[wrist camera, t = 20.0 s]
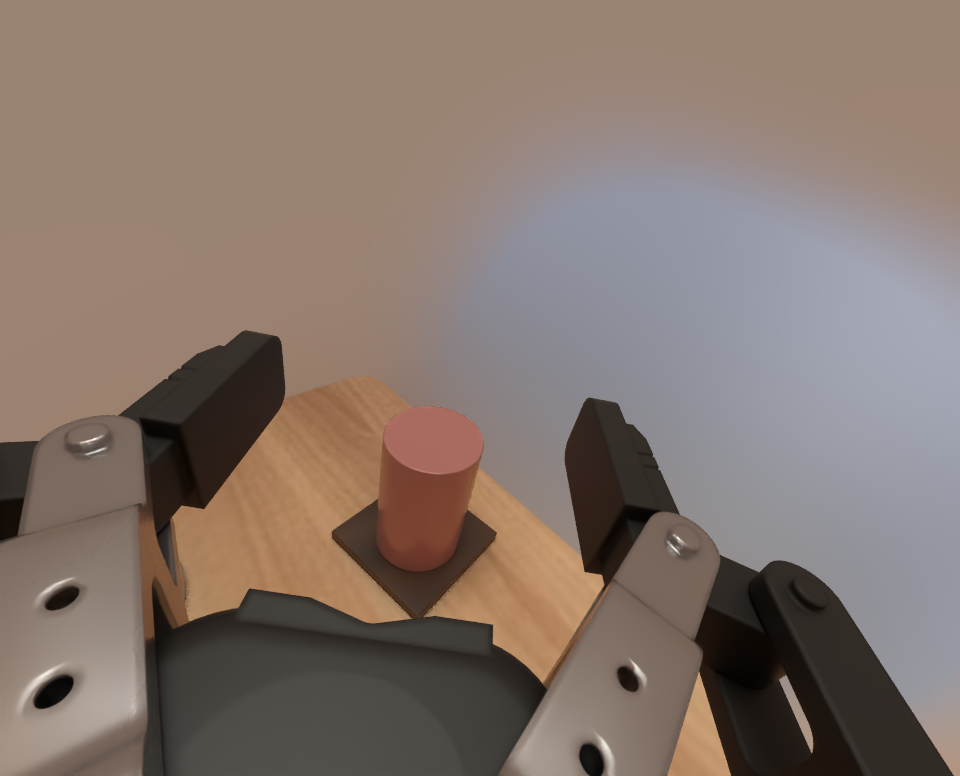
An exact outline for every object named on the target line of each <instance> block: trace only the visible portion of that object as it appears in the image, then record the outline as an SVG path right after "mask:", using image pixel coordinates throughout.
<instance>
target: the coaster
mask: <svg viewBox="0 0 960 776" xmlns="http://www.w3.org/2000/svg"><path fill="white" fill-rule="evenodd" d="M377 507H378V499H377V500H376V501H374V502H373V503H372V504H370V505H369V506H367V507H366V508H364V509H363V510H362V511H360V512H359V513H357V514H356V515H354V516H353V517H352V518H350V519H349V520H347V521H346V522H344V523H343V524H341V525H340V526H339V527H337V528H336V529H334V530H333V531H332V538H333V539H334V540H335V541H336V542H337V543H338V544H339V545H340V546H341V547H342V548H343V549H344V550H345V551H346V552H347V553H348V554H349V555H350V556H351V557H352V558H353V559H354V560H355V561H356V562H357V563H358V564H359V565H360V566H361V567H362V568H363V569H364V570H365V571H366V572H367V573H368V574H369V575H370V576H371V577H372V578H373V579H374V580H375V581H376V582H377V583H378V584H379V585H380V586H381V587H382V588H383V589H384V590H385V591H386V592H387V593H388V594H389V595H390V596H391V597H392V598H393V599H394V600H395V601H396V602H397V603H398V604H399V605H400V606H401V607H402V608H403V609H404V610H405V611H406V612H407V613H408V614H409V615H410V616H411V617H412V618H413V619H416V618H421V617H422V616H423V615H424V614H425V613H426V612H427V611H428V610H429V609H430V608H431V607H432V606H433V604H434V603H435V602H436V601H437V600H438V599H439V598H440V597H441V596H442V595H443V594H444V593H445V592H446V590H447V589H448V588H449V587H450V586H451V585H452V584H453V583H454V582H455V581H456V580H457V579H458V578H459V577H460V575H461V574H462V573H463V572H464V571H465V570H466V569H467V568H468V567H469V566H470V565H471V564H472V563H473V562H474V560H475V559H476V558H477V557H478V556H479V555H480V554H481V553H482V552H483V551H484V550H485V549H486V548H487V547H488V545H489V544H490V543H491V542H492V541H493V540H494V539H495V537H496V534H497V532H495V531H494V530H493V529H492V528H490V527H489V526H488V525H486V524H485V523H484V522H482V521H481V520H480V519H479V518H477V517H476V516H475V515H473V514H472V513H471V512H470V511H468V510H467V513H466V516H465V520H464V524H463V528H462V531H461V535H460V539H459V543H458V546H457V549H456V551H455V552H454V554H453V556H452V557H451V558H450V559H449V560H448V561H447V562H446V563H444V564H443V565H441V566H439V567H437V568H435V569H432V570H429V571H423V572H412V571H406V570H403V569H400V568H398V567H396V566H394V565H393V564H391V563H390V562H388V561H387V560H386V559H385V558H384V557H383V555H382V554H381V552H380V551H379V549H378V547H377V543H376V537H375V534H376V520H377Z"/></svg>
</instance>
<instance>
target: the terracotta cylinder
mask: <svg viewBox="0 0 960 776" xmlns="http://www.w3.org/2000/svg"><path fill="white" fill-rule="evenodd" d="M483 448H484V442H483V437H482V435H481V432H480V431H479V429H478V428H477V426H476V425H475V424H474V423H473V422H472V421H471V420H469V419H468V418H466V417H465V416H463V415H462V414H459V413H458V412H455V411H452V410H450V409H446V408H442V407H435V406H421V407H414V408H410V409H407V410H404V411H402V412H400V413H398V414H396V415H395V416H394V417H393V418H392V419H391V420H390V421H389V422H388V423H387V425H386V427H385V429H384V433H383V444H382V457H381V469H380V482H379V495H378V507H377V520H376V534H375V537H376V543H377V547H378V549H379V551H380V552H381V554H382V555H383V557H384V558H385V559H386V560H387V561H388V562H390V563H391V564H393V565H394V566H396V567H398V568H400V569H403V570H406V571H412V572H423V571H429V570H432V569H435V568H437V567H439V566H441V565H443V564H444V563H446V562H447V561H448V560H449V559H450V558H451V557H452V556H453V554H454V552H455V551H456V549H457V546H458V543H459V539H460V535H461V531H462V528H463V524H464V520H465V516H466V513H467V509H468V505H469V501H470V498H471V494H472V490H473V486H474V483H475V479H476V475H477V471H478V468H479V463H480V460H481V456H482V453H483Z"/></svg>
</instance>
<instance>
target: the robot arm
mask: <svg viewBox="0 0 960 776" xmlns="http://www.w3.org/2000/svg"><path fill="white" fill-rule="evenodd" d="M284 395H285V379H284V367H283V355H282V345H281V341H280V339H279V338H278V337H277V336H273V335H268V334H262V333H257V332H251V331H242V332H241V333H240V334H239V335H237V336H236V337H235V338H234V339H233V340H231V341H230V342H229V343H228V344H226V345H225V346H216V347H214V348H211V349H209V350H206V351H203V352H201V353H198V354H196V355H195V356H194V357H193V358H192V359H190V360H189V361H187V362H186V363H185V364H184V365H182V368H181V369H177V370H176V371H175V372H173V373H172V374H171V375H170V376H169V378H168V379H164V380H163V381H162V382H161V383H159V384H158V385H157V386H155V387H154V388H153V389H152V390H150V391H149V392H148V393H147V394H145V395H144V396H143V397H141V398H140V399H139V400H137V401H136V402H135V403H134V404H132V405H131V406H130V407H129V408H127V409H126V410H125V411H123V412H122V413H121V414H120V415H118V416H115V415H102V416H93V417H88V418H84V419H79V420H76V421H73V422H70V423H67V424H65V425H63V426H60V427H58V428H56V429H55V430H53V431H52V432H50V433H48V434H47V435H45V436H44V437H43V438H42V439H41V440H40V441H28V442H7V443H6V442H5V443H0V776H667V774H668V771H669V768H670V764H671V761H672V758H673V755H674V751H675V748H676V745H677V741H678V738H679V735H680V731H681V728H682V725H683V722H684V718H685V715H686V712H687V708H688V705H689V702H690V699H691V695H692V692H693V689H694V685H695V682H696V679H697V676H698V672H700V675H701V678H702V682H703V685H704V688H705V692H706V695H707V698H708V701H709V705H710V708H711V711H712V714H713V718H714V721H715V724H716V727H717V731H718V734H719V737H720V740H721V744H722V747H723V750H724V753H725V757H726V760H727V763H728V767H729V770H730V773H731V776H953V774H952V772H951V771H950V769H949V768H948V766H947V765H946V763H945V762H944V760H943V758H942V757H941V756H940V754H939V752H938V751H937V749H936V748H935V746H934V744H933V743H932V741H931V740H930V738H929V737H928V735H927V734H926V733H925V731H924V729H923V728H922V726H921V725H920V723H919V721H918V720H917V718H916V717H915V715H914V714H913V712H912V711H911V709H910V707H909V706H908V704H907V703H906V701H905V700H904V698H903V697H902V695H901V694H900V692H899V691H898V689H897V687H896V686H895V684H894V683H893V681H892V680H891V678H890V677H889V675H888V673H887V672H886V670H885V669H884V667H883V666H882V664H881V663H880V661H879V660H878V658H877V657H876V655H875V653H874V652H873V650H872V649H871V647H870V646H869V644H868V643H867V641H866V640H865V638H864V636H863V635H862V633H861V632H860V630H859V629H858V627H857V626H856V624H855V622H854V621H853V619H852V618H851V616H850V615H849V613H848V612H847V610H846V609H845V607H844V606H843V604H842V602H841V601H840V600H839V598H838V597H837V596H836V595H835V593H833V591H832V590H831V589H830V588H829V587H828V586H827V585H826V584H825V583H823V582H822V581H821V580H820V579H819V578H817V577H816V576H815V575H813V574H812V573H810V572H809V571H807V570H806V569H804V568H802V567H800V566H798V565H795V564H793V563H789V562H786V561H773V562H770V563H769V564H768V565H767V566H766V567H765V568H763V569H762V570H761V571H760V572H757V571H755V570H752V569H750V568H748V567H746V566H743V565H741V564H739V563H737V562H734V561H732V560H730V559H728V558H725V557H723V556H721V555H719V551H718V549H717V547H716V545H715V543H714V542H713V540H712V539H711V538H710V536H709V535H708V534H707V533H706V532H705V531H704V530H703V529H702V528H701V527H700V526H698V525H697V524H696V523H694V522H693V521H691V520H689V519H688V518H686V517H684V516H681V515H680V514H679V512H678V509H677V507H676V505H675V503H674V500H673V498H672V496H671V494H670V491H669V489H668V487H667V485H666V483H665V480H664V478H663V476H662V474H661V471H660V470H658V465H657V463H656V460H655V458H654V457H653V453H652V451H651V449H650V447H649V444H648V442H647V440H646V438H644V436H643V435H642V434H641V433H640V432H639V431H638V430H637V429H636V428H635V427H634V425H631V424H626V422H625V420H624V417H623V415H622V412H621V410H620V407H619V405H618V404H617V403H615V402H609V401H605V400H599V399H594V398H588V399H586V401H585V402H584V404H583V406H582V408H581V411H580V413H579V416H578V418H577V420H576V422H575V425H574V427H573V430H572V432H571V434H570V437H569V439H568V441H567V445H566V450H565V466H566V472H567V477H568V483H569V488H570V493H571V499H572V505H573V510H574V516H575V521H576V526H577V532H578V538H579V543H580V549H581V554H582V560H583V565H584V571H585V572H588V573H594V574H600V575H602V576H603V580H604V587H603V588H602V590H601V591H600V593H599V594H598V596H597V598H596V599H595V601H594V602H593V604H592V606H591V607H590V609H589V611H588V612H587V614H586V615H585V617H584V619H583V620H582V622H581V624H580V625H579V627H578V628H577V630H576V632H575V633H574V635H573V637H572V638H571V640H570V641H569V643H568V645H567V646H566V648H565V650H564V651H563V653H562V654H561V656H560V657H559V659H558V661H557V662H556V664H555V665H554V667H553V668H552V670H551V671H550V673H549V674H548V676H547V678H546V679H545V681H544V682H543V684H542V682H541V681H540V680H539V679H538V677H537V676H536V675H535V674H534V673H533V672H532V671H531V670H530V669H529V668H528V667H527V666H526V665H524V664H523V663H522V662H521V661H519V660H518V659H517V658H516V657H514V656H513V655H511V654H510V653H508V652H507V651H505V650H503V649H502V648H500V647H498V646H496V645H494V644H493V625H491V624H484V623H478V622H471V621H464V620H458V619H451V618H444V617H437V616H432V617H424V618H416V619H408V620H400V621H392V622H384V623H374V624H371V623H366V622H363V621H361V620H359V619H356V618H354V617H352V616H350V615H348V614H346V613H343V612H341V611H339V610H337V609H335V608H332V607H330V606H328V605H326V604H324V603H321V602H319V601H317V600H315V599H313V598H310V597H303V596H296V595H290V594H283V593H276V592H269V591H263V590H256V589H249V590H248V591H247V593H246V595H245V597H244V599H243V601H242V603H241V605H240V606H239V608H236V609H230V610H225V611H221V612H216V613H213V614H210V615H207V616H204V617H201V618H198V619H195V620H192V621H190V622H189V620H188V616H187V613H186V609H185V604H184V599H183V592H182V584H181V576H180V568H179V559H178V551H177V543H176V534H175V526H174V522H173V519H172V516H173V515H174V514H175V513H176V511H177V510H178V509H179V508H180V507H181V505H182V506H189V507H195V508H201V509H204V508H205V507H206V506H207V505H208V503H209V502H210V501H211V499H212V498H213V497H214V495H215V494H216V493H217V491H218V490H219V489H220V487H221V486H222V485H223V483H224V482H225V481H226V479H227V478H228V477H229V476H230V474H231V473H232V472H233V470H234V469H235V468H236V466H237V465H238V464H239V462H240V461H241V460H242V458H243V457H244V456H245V454H246V453H247V452H248V450H249V449H250V448H251V447H252V445H253V444H254V443H255V441H256V440H257V439H258V437H259V436H260V435H261V433H262V432H263V431H264V429H265V428H266V427H267V425H268V424H269V423H270V421H271V420H272V419H273V418H274V416H275V415H276V414H277V412H278V411H279V409H280V407H281V405H282V403H283V400H284ZM785 675H787V677H788V679H789V681H790V684H791V686H792V688H793V690H794V692H795V695H796V697H797V699H798V701H799V703H800V705H801V707H802V710H803V712H804V714H805V716H806V718H807V720H808V722H809V725H810V728H811V731H812V736H813V743H814V744H813V752H812V753H811V751H810V749H809V747H808V745H807V742H806V740H805V738H804V735H803V733H802V731H801V729H800V726H799V724H798V722H797V720H796V717H795V715H794V713H793V711H792V708H791V706H790V704H789V702H788V699H787V697H786V695H785V693H784V690H783V688H782V686H781V684H780V681H779V679H781V678H782V677H783V676H785Z"/></svg>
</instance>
